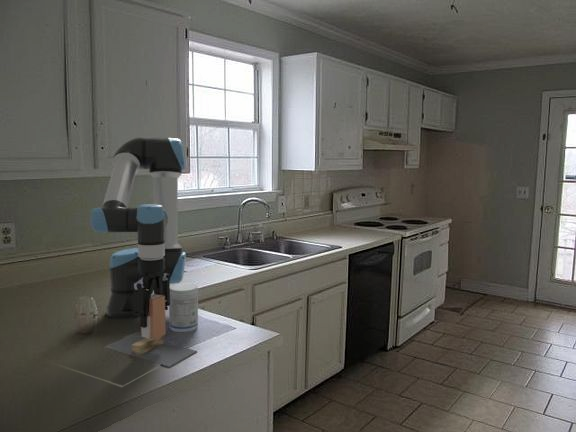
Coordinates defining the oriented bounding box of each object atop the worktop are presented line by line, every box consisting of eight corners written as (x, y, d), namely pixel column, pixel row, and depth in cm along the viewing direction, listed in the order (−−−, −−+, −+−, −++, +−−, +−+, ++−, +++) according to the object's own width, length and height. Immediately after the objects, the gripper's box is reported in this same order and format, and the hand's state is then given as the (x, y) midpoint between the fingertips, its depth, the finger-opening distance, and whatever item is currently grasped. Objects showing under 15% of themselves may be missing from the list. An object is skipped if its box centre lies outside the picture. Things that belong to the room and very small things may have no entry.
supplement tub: (171, 323, 168) (171, 282, 165) (199, 322, 168) (199, 282, 166) (167, 334, 158) (166, 290, 156) (196, 333, 159) (196, 290, 157)
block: (153, 331, 147) (152, 292, 145) (165, 334, 145) (164, 295, 143) (141, 336, 143) (139, 296, 141) (153, 339, 140) (152, 299, 139)
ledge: (155, 342, 151) (155, 333, 150) (162, 344, 149) (162, 335, 149) (131, 354, 142) (131, 344, 142) (139, 356, 141) (138, 346, 140)
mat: (133, 335, 157) (133, 334, 156) (196, 352, 144) (196, 350, 144) (103, 348, 146) (103, 347, 146) (169, 367, 134) (169, 366, 134)
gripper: (163, 250, 150) (164, 322, 153) (118, 262, 134) (120, 341, 138) (182, 253, 147) (183, 326, 150) (137, 265, 131) (140, 347, 134)
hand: (153, 333), depth 144 cm, fingers closed on block, 5 cm apart
